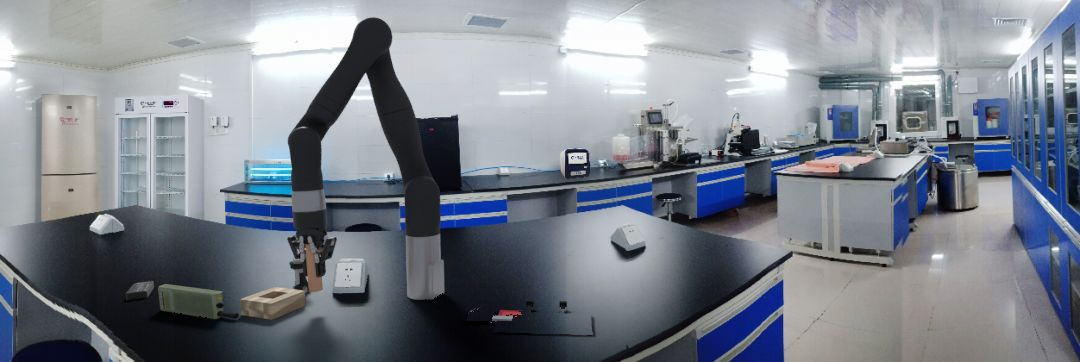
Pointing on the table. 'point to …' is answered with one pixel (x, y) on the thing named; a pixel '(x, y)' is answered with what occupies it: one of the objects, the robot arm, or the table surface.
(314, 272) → the peg
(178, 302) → the handheld radio
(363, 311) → the table surface
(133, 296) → the multiport hub
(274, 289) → the socket block
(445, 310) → the table surface
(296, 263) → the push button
